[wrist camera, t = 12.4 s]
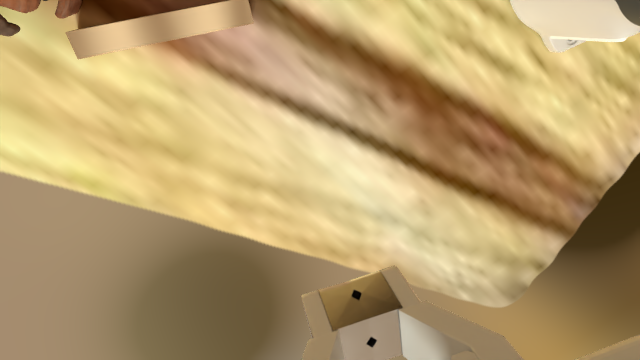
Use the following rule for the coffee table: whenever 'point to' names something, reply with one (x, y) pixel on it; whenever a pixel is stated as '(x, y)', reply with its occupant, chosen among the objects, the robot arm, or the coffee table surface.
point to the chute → (159, 28)
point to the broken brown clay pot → (25, 3)
